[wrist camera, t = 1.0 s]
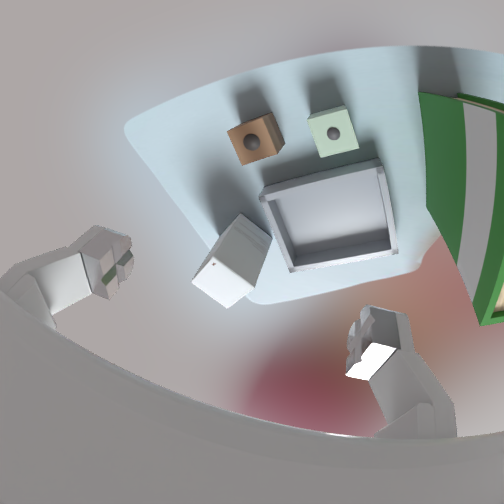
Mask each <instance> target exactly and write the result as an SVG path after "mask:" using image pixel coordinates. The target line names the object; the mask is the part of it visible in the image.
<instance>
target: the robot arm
mask: <svg viewBox="0 0 504 504" xmlns="http://www.w3.org/2000/svg"><path fill="white" fill-rule="evenodd" d="M131 246H132V242H131V238H130V237H129V236H128V235H125V234H123V233H120V232H117V231H114V230H111V229H108V228H105V227H102V226H99V225H95V226H93V227H91V228H90V229H89V230H88V231H87V232H86V233H84V234H83V235H82V236H81V237H79V238H78V239H77V240H76V241H75V242H74V243H72V244H71V245H70V246H69V247H68V248H67V247H63V248H59V249H56V250H54V251H50V252H48V253H45V254H42V255H39V256H36V257H33V258H30V259H28V260H25V261H22V262H19V263H17V264H14V266H13V267H11V268H10V269H9V270H8V271H7V272H6V273H5V274H4V275H3V276H2V277H1V278H0V504H504V431H502V432H496V433H490V434H483V435H476V436H467V437H457V428H456V418H455V410H454V403H453V402H452V401H451V399H450V397H449V396H448V394H447V393H446V392H445V390H444V389H443V387H442V386H441V384H440V383H439V381H438V380H437V378H436V377H435V376H434V374H433V373H432V371H431V370H430V369H429V367H428V366H427V364H426V363H425V362H424V360H423V359H422V358H421V356H420V355H419V353H415V350H414V345H413V339H412V334H411V328H410V324H409V319H408V316H407V314H405V313H400V312H396V311H390V310H387V309H382V308H378V307H375V306H371V305H366V306H364V307H363V309H362V311H361V313H360V317H361V319H359V320H357V321H355V322H354V324H353V325H352V327H351V329H350V332H349V335H348V340H347V349H348V350H349V352H350V355H349V356H348V357H347V363H346V366H347V367H346V375H347V376H352V377H357V378H362V379H366V380H369V381H368V382H369V384H370V386H371V388H372V390H373V392H374V395H375V397H376V399H377V401H378V403H379V405H380V408H381V410H382V412H383V414H384V416H385V419H386V421H387V423H388V425H387V426H385V427H384V428H382V429H381V430H379V431H378V432H376V433H375V434H374V438H371V437H359V436H350V435H341V434H333V433H326V432H320V431H314V430H308V429H303V428H297V427H292V426H287V425H283V424H278V423H274V422H270V421H266V420H261V419H258V418H254V417H250V416H246V415H243V414H239V413H236V412H232V411H229V410H226V409H222V408H219V407H216V406H213V405H210V404H207V403H204V402H201V401H199V400H196V399H193V398H190V397H187V396H185V395H182V394H179V393H177V392H175V391H172V390H170V389H167V388H165V387H162V386H160V385H157V384H155V383H153V382H150V381H148V380H146V379H144V378H142V377H139V376H137V375H135V374H133V373H131V372H129V371H127V370H124V369H123V368H121V367H119V366H117V365H115V364H113V363H111V362H109V361H107V360H105V359H103V358H101V357H99V356H97V355H96V354H94V353H92V352H90V351H89V350H87V349H85V348H83V347H82V346H80V345H78V344H77V343H75V342H73V341H72V340H70V339H68V338H67V337H65V336H63V335H62V334H60V333H59V332H57V331H56V330H55V329H56V327H57V326H56V322H55V321H54V319H53V317H52V315H53V314H55V313H57V312H59V311H60V310H62V309H64V308H66V307H68V306H70V305H72V304H73V303H75V302H77V301H79V300H81V299H83V298H84V297H87V296H88V295H90V294H91V292H92V293H94V294H96V295H99V296H101V297H103V298H106V299H108V300H110V299H111V298H112V296H113V295H114V294H115V293H116V292H117V290H118V289H119V283H120V282H122V281H125V280H127V278H128V277H129V276H130V274H131V272H132V269H133V265H134V259H133V255H132V253H131V251H130V250H129V249H130V248H131Z"/></svg>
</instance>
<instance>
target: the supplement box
mask: <svg viewBox="0 0 504 504" xmlns="http://www.w3.org/2000/svg"><path fill="white" fill-rule="evenodd" d="M271 242H272V238H271V237H270V236H269V235H268V234H266V233H265V232H264V231H263V230H261V229H260V228H259V227H258V226H256V225H255V224H254V223H253V222H251V221H250V220H249V219H248V218H246V217H245V216H244V215H243V214H241V213H240V214H239V215H238V216H237V217H236V219H235V220H234V221H233V222H232V223H231V224H230V225H229V226H228V227H227V229H226V230H225V231H224V232H223V233H222V234H221V236H220V237H219V238H218V240H217V241H216V243H215V245H214V246H213V248H212V249H211V251H210V252H209V254H208V256H207V257H206V259H205V260H204V262H203V263H202V265H201V266H200V268H199V270H198V271H197V273H196V274H195V276H194V278H193V279H192V281H191V283H192V284H194V285H195V286H197V287H198V288H200V289H201V290H202V291H204V292H205V293H206V294H208V295H209V296H211V297H212V298H213V299H214V300H216V301H217V302H219V303H220V304H222V305H223V306H224V307H226V308H227V309H228V308H229V307H230V306H232V305H233V304H234V303H235V302H237V301H238V300H239V299H241V298H242V297H243V296H245V295H246V294H247V293H249V292H250V291H251V290H253V289H254V288H255V285H256V282H257V279H258V276H259V274H260V271H261V269H262V266H263V263H264V261H265V258H266V255H267V253H268V250H269V247H270V244H271Z"/></svg>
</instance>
